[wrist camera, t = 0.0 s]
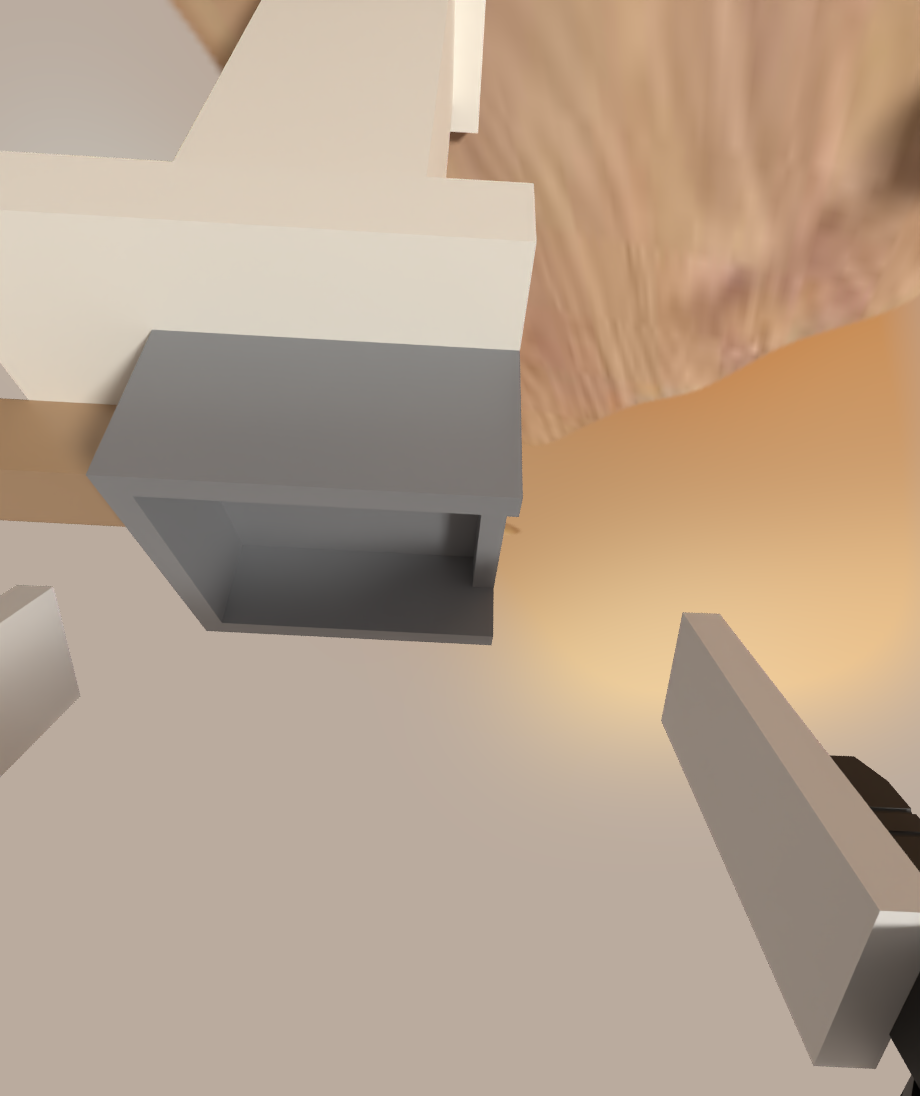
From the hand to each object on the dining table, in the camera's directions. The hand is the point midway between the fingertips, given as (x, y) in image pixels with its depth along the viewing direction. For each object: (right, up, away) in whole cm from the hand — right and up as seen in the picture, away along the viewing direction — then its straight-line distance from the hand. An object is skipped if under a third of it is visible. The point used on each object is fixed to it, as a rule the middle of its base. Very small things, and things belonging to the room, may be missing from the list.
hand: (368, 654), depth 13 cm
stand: (-2, +31, +19) cm, 36 cm away
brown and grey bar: (-8, +5, +3) cm, 10 cm away
